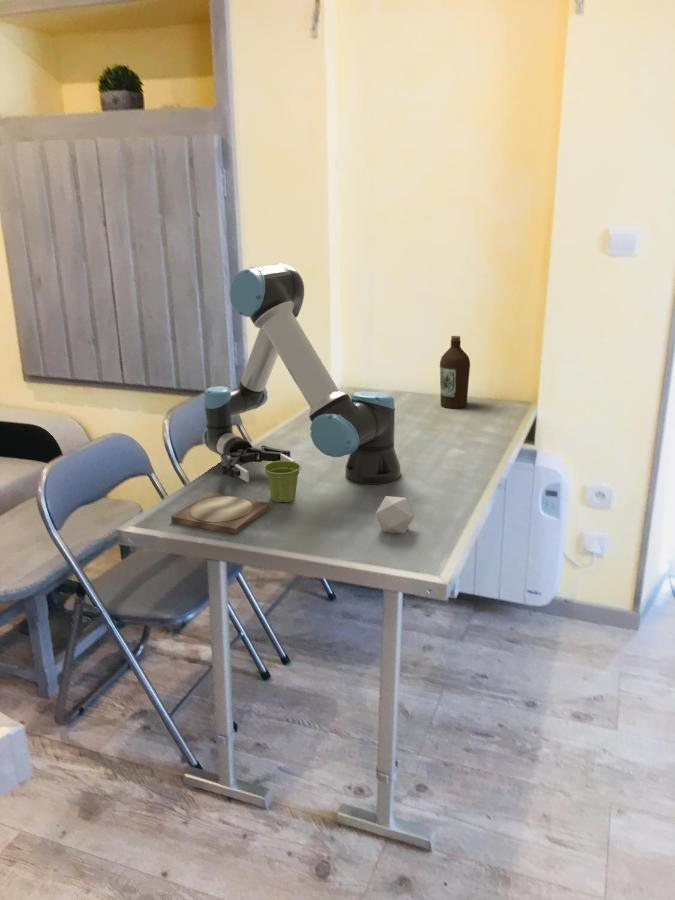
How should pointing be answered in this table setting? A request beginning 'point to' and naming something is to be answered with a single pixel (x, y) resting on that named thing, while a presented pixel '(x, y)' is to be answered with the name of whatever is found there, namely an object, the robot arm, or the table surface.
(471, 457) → the table surface
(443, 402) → the olive oil
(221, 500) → the walnut board
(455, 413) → the table surface
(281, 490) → the plant pot
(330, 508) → the table surface
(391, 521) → the die
